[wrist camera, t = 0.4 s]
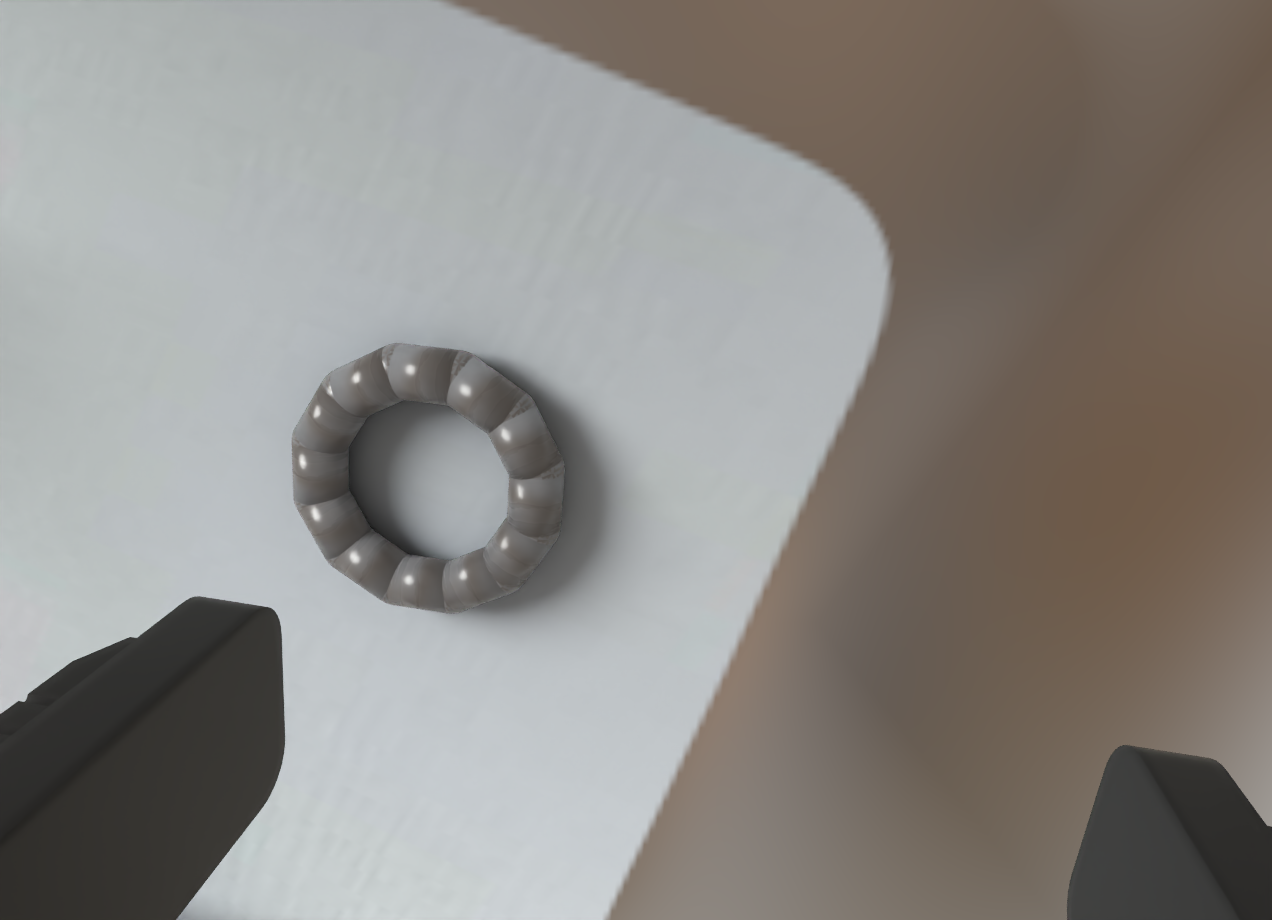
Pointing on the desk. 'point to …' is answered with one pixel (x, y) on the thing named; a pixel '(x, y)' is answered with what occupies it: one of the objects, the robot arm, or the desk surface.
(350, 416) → the grey beaded ring
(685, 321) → the desk surface
